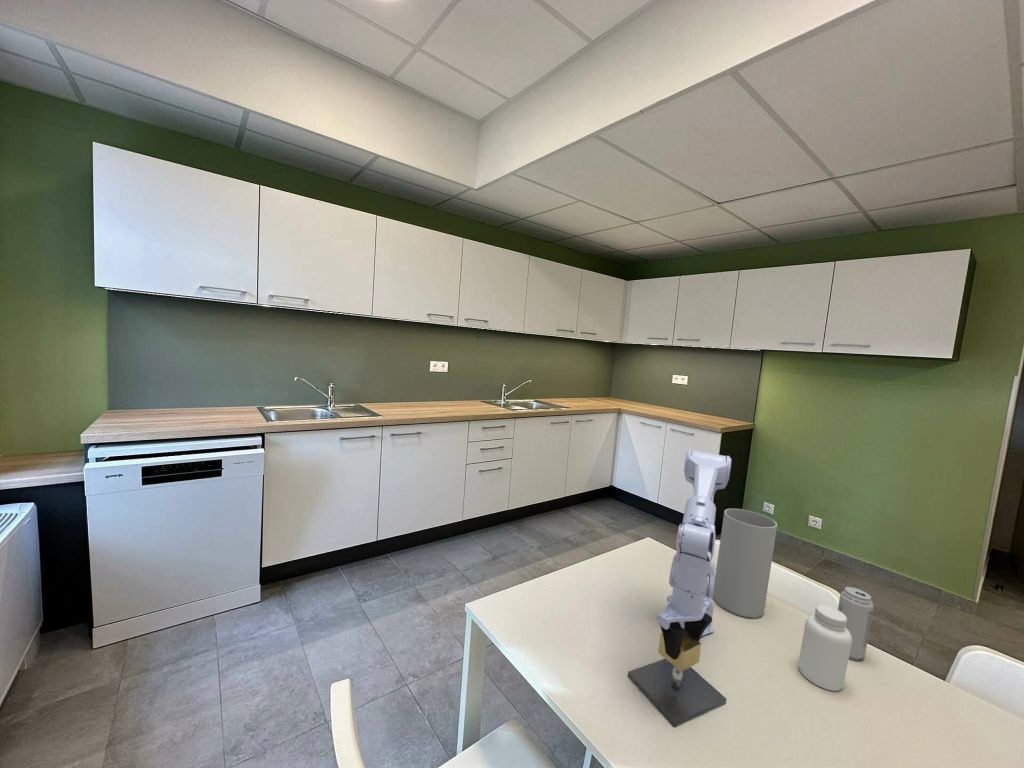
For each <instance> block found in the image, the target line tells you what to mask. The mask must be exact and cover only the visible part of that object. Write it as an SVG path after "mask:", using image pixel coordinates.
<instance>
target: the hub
mask: <svg viewBox="0 0 1024 768" xmlns="http://www.w3.org/2000/svg"><path fill="white" fill-rule="evenodd" d="M701 649H702V643H701V642H700V640H699V641H697V640H696V639H694V638H693V637H692V636H690V635H689V634H687V635H686V636H685V638H684V639H683V641H682V644H681V647H680V651H679V655H678V657H677V659H675V660H673V659H672V658H671V657H670V656H668V655H667V654H666V651H665V644H664V637H663V633H662V632H661V633H660V634H659V643H658V650H657V654H659V655H660V656H661V657H663V658H664V659H666V660H668V661H669V662H670V663H671V664H673V665H674V666H675V667H676V668H677V669H679V670H680V671H681V672H683V671H684V670H686V669H688V668H690V667H691V668H693V666H695V665H697V664H699V663H700V656H701Z"/></svg>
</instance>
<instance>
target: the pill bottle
mask: <svg viewBox="0 0 1024 768" xmlns="http://www.w3.org/2000/svg"><path fill="white" fill-rule="evenodd" d="M846 624H847V617H846V616H845V615H844V614H843V613H842V612H840V611H839V610H838V608H835V607H832V606H829V605H825V604H818V605H816V606H815V610H814V614H812V615H810V616H807V618H806V619H805V623H804V629H803V635H802V638H801V639H802V641H801V645H800V651H799V657H798V663H797V664H798V670H799V672H800V673H801V674H802V675H803V676H804V678H806V679H807V680H808V681H809V682H811V683H812V684H814V685H816V686H818V687H820V688H822V689H825V690H827V691H833V692H838V691H841V690H842V689H843V687H844V685H845V679H846V676H847V674H846V673H847V671H848V665H849V660H850V658H849V655H850V649H851V644H852V637H851V634H850V632H849V631H848V630H847V629H846Z"/></svg>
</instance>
